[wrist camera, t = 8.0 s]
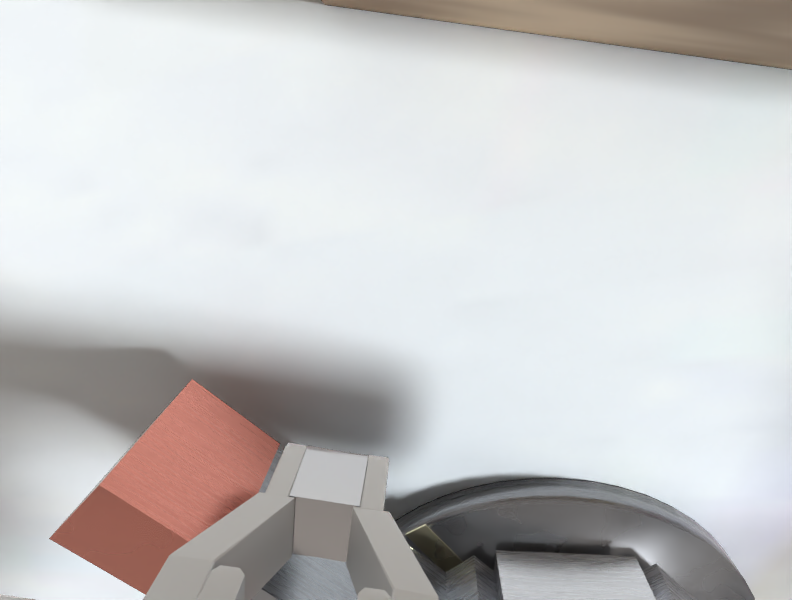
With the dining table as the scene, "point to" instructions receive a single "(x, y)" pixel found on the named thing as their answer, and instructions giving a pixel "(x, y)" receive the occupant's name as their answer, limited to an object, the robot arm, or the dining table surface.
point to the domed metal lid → (572, 530)
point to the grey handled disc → (301, 575)
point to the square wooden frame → (626, 23)
